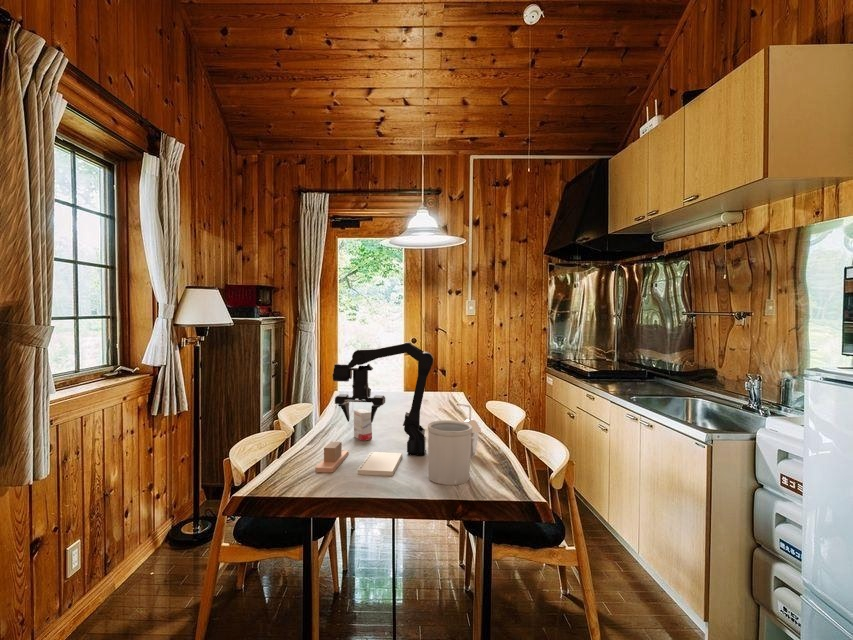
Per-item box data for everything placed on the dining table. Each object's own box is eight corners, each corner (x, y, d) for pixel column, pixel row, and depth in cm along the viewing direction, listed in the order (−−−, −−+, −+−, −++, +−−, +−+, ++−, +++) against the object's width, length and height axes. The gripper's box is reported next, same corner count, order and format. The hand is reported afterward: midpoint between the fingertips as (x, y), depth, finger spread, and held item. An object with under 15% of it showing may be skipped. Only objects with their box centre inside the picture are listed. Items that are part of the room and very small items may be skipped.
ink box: (372, 439, 199) (372, 412, 199) (361, 441, 196) (361, 413, 196) (363, 434, 206) (363, 408, 206) (352, 436, 203) (353, 409, 203)
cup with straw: (478, 459, 174) (479, 406, 173) (454, 457, 177) (455, 404, 176) (482, 452, 182) (483, 401, 182) (459, 450, 185) (460, 400, 184)
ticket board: (402, 457, 176) (402, 452, 176) (392, 475, 156) (392, 471, 156) (370, 455, 177) (370, 451, 177) (357, 474, 157) (357, 469, 157)
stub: (348, 454, 178) (348, 437, 178) (332, 472, 158) (332, 453, 158) (333, 453, 179) (333, 436, 179) (315, 471, 159) (315, 452, 159)
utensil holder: (474, 472, 161) (474, 421, 160) (468, 488, 146) (469, 432, 146) (432, 468, 164) (433, 418, 164) (422, 483, 150) (423, 429, 149)
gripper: (388, 379, 187) (387, 417, 188) (342, 378, 189) (342, 416, 190) (382, 383, 176) (382, 424, 176) (334, 382, 178) (334, 422, 179)
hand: (360, 421), depth 181 cm, fingers open, 9 cm apart
